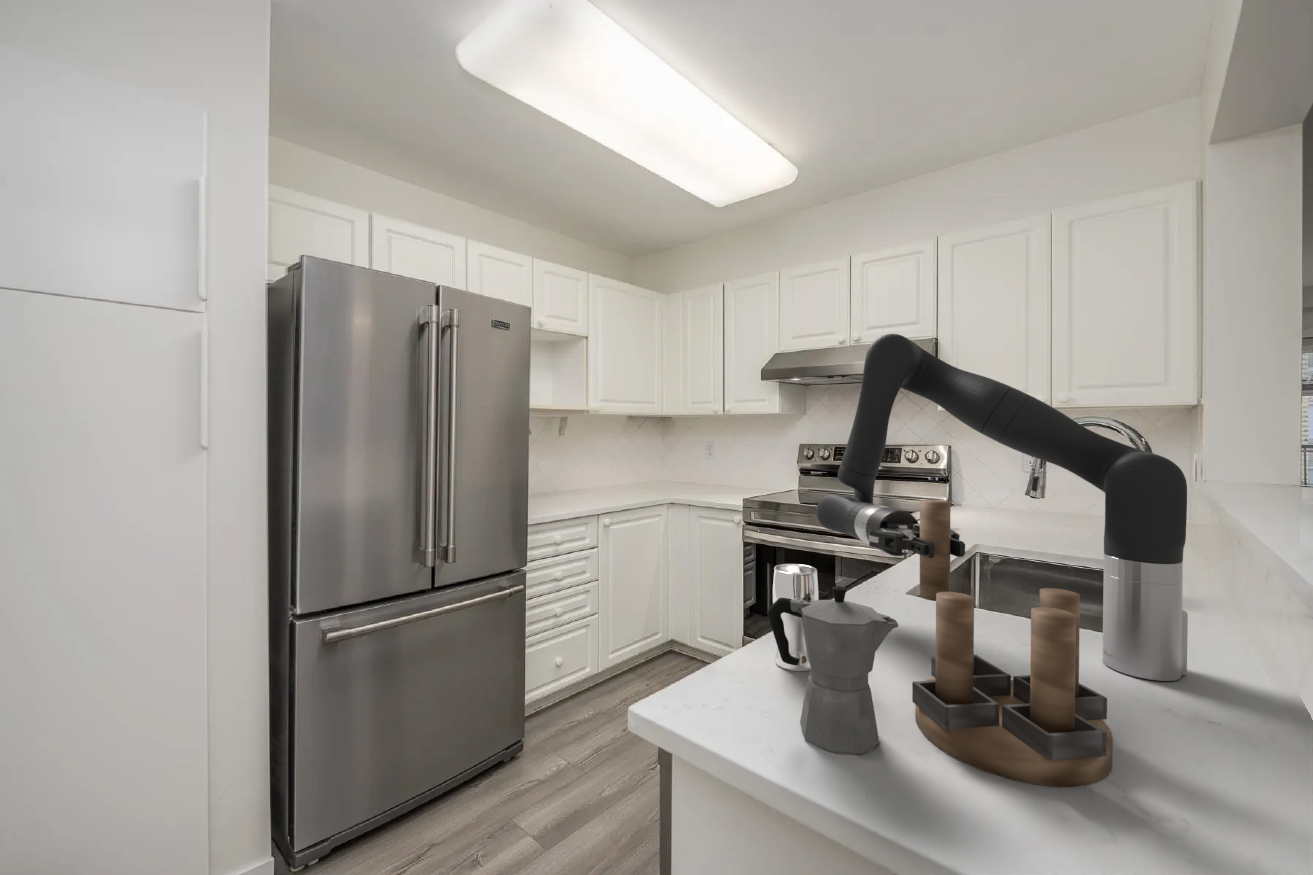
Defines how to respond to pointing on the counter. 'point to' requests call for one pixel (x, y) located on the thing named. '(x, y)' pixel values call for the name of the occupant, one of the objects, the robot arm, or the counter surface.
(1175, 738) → the counter surface
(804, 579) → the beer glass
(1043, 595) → the stool seat
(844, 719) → the coffeepot
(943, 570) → the loose leg
